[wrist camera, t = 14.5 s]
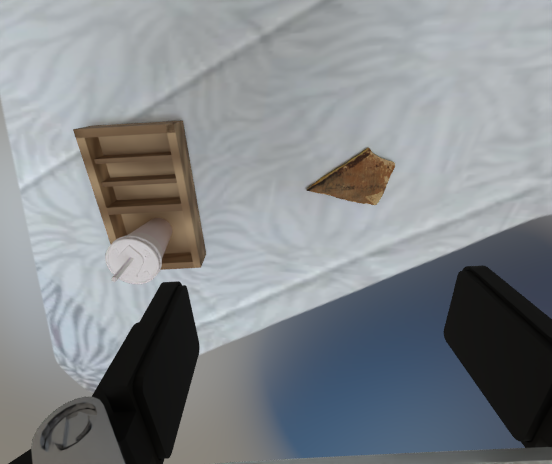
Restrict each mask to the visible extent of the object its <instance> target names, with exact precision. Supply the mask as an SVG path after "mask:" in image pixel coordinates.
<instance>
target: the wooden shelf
mask: <svg viewBox="0 0 552 464" xmlns="http://www.w3.org/2000/svg"><path fill="white" fill-rule="evenodd" d="M73 131H74V134H75V137H76V140H77V143H78V146H79V149H80V152H81V155H82V158H83V161H84V164H85V167H86V170H87V173H88V176H89V179H90V182H91V186H92V189H93V192H94V195H95V198H96V201H97V204H98V207H99V210H100V213H101V216H102V219H103V222H104V225H105V228H106V231H107V234H108V237H109V241H110V244H112V243H113V242H114V241H115V240H116V239H118V238H120V237H123V236H127V235H128V234H130V233H132V232H133V231H135V230H136V229H138V228H139V227H141V226H142V225H144V224H145V223H147V222H148V221H150V220H152V219H154V218H162V219H164V220H166V221H167V222H168V223H169V224H170V225H171V227H172V234H171V237H170V240H169V242H168V245H167V247H166V250H165V252H164V255H163V257H162V266H161V269H160V270H162V269H181V268H200V267H201V266H202V263H203V261H204V258H205V256H206V251H205V245H204V239H203V233H202V228H201V222H200V216H199V211H198V205H197V199H196V193H195V188H194V182H193V176H192V170H191V165H190V159H189V153H188V148H187V142H186V136H185V130H184V125H183V121H170V122H152V123H134V124H116V125H98V126H88V127H83V128H78V129H73Z"/></svg>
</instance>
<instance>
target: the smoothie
mask: <svg viewBox="0 0 552 464" xmlns="http://www.w3.org/2000/svg"><path fill="white" fill-rule="evenodd" d="M171 234H172V227H171V225H170V224H169V223H168V222H167V221H166V220H164V219H162V218H154V219H152V220H150V221H148V222H147V223H145V224H144V225H142V226H141V227H139V228H138V229H136V230H135V231H133V232H132V233H130V234H128V235H127V236H123V237H120V238H118V239H116V240H115V241H114V242H113V243H112V244H111V245H110V246H109V248H108V249H107V251H106V256H105V259H106V264H107V266H108V268H109V270H110V271H111V272H112V273H113V274H114V276H113V277H112V278H111V280H112V281H114V282H116V281H117V280H118V278H119V279H120V280H122V281H124V282H127V283H131V284H144V283H147V282H149V281H151V280H152V279H154V278H155V276H156V275H157V274H158V273H159V271H160V269H161V266H162V257H163V255H164V252H165V250H166V247H167V245H168V242H169V240H170V237H171Z"/></svg>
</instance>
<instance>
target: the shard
mask: <svg viewBox="0 0 552 464" xmlns="http://www.w3.org/2000/svg"><path fill="white" fill-rule="evenodd" d="M394 168H395V163H394V162H392V161H388V160H385V159H382V158H380V157H378V156H376V155H375V154H373V153H372V152H371V150H370V148H367V149H366V150H364V151H363V152H361V153H360V154H359V155H358V156H356V157H354V158H352V159H351V160H350V161H348V162H347V163H346V164H344V165H343V166H341V167H339V168H337V169H335V170H334V171H332V172H331V173H329V174H327V175H326V176H324V177H322V178H321V179H319V180H318V181H317V182H316V183H314V184H313V185H312V186H311V187H309V188H308V189H307V191H311V192H316V193H321V194H326V195H331V196H334V197H336V198H340V199H345V200H348V201H352V202H353V201H354V202H357V203H363V204H365V203H368V204H371V205H377V203H378V202H379V200H380V198H381V197H382V195H383V193H384V190H385V188H386V185H387V183H388V181H389V178H390V175H391V174H392V172H393V170H394Z"/></svg>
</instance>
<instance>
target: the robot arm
mask: <svg viewBox="0 0 552 464" xmlns="http://www.w3.org/2000/svg"><path fill="white" fill-rule="evenodd" d="M444 337H445V340H446V342H447V343H448V345H449V346H450V348H451V349H452V350H453V352H454V353H455V355H456V356H457V358H458V359H459V360H460V362H461V363H462V364H463V366H464V367H465V369H466V370H467V372H468V373H469V374H470V376H471V377H472V379H473V380H474V382H475V383H476V385H477V386H478V387H479V389H480V390H481V392H482V393H483V395H484V396H485V397H486V399H487V400H488V402H489V403H490V405H491V406H492V407H493V409H494V410H495V412H496V413H497V415H498V416H499V417H500V419H501V420H502V422H503V423H504V425H505V426H506V427H507V429H508V430H509V432H510V433H511V434H512V436H513V437H514V438H515V439H516V440H518V441H521V442H522V444H523V445H524V446H525V448H516V449H493V450H470V451H469V450H468V451H446V452H424V453H402V454H383V455H361V456H343V457H342V456H341V457H324V458H323V457H322V458H303V459H284V460H266V461H248V462H231V463H218V464H552V319H551V318H549V317H548V316H547V315H546V314H544V313H543V312H542V311H541V310H539V309H538V308H537V307H536V306H535V305H533V304H532V303H531V302H530V301H528V300H527V299H526V298H525V297H524V296H522V295H521V294H520V293H519V292H517V291H516V290H515V289H514V288H512V287H511V286H510V285H509V284H508V283H506V282H505V281H504V280H503V279H501V278H500V277H499V276H498V275H496V274H495V273H494V272H492V271H491V270H490V269H489V268H488V267H486V266H467V267H465V268H464V269H463V270H462V271H460V272H459V274H458V276H457V280H456V284H455V288H454V292H453V296H452V300H451V304H450V308H449V312H448V316H447V320H446V324H445V328H444ZM198 355H199V340H198V336H197V331H196V326H195V322H194V317H193V313H192V308H191V304H190V299H189V294H188V290H187V287H186V286H185V285H184V286H182V284H181V283H180V282H163V283H162V284H161V285H160V287H159V289H158V290H157V292H156V294H155V296H154V297H153V299H152V301H151V303H150V304H149V306H148V308H147V310H146V311H145V313H144V315H143V317H142V319H141V320H140V322H139V323H136V324H135V325H134V326H133V327H132V329H131V330H130V332H129V334H128V335H127V337H126V339H125V341H124V342H123V344H122V346H121V347H120V349H119V351H118V353H117V354H116V356H115V358H114V359H113V361H112V363H111V364H110V366H109V368H108V370H107V371H106V373H105V375H104V376H103V378H102V380H101V382H100V383H99V385H98V387H97V388H96V390H95V392H94V394H93V395H92V397H82V398H77V399H74V400H72V401H70V402H68V403H65V404H64V405H62V406H61V407H59V408H58V409H56V410H55V411H53V412H52V413H51V414H50V415H49V416H48V417H47V418H46V419H45V420H44V421H43V422H42V424H41V425H40V426H39V428H38V429H37V431H36V433H35V435H34V437H33V439H32V446H31V449H30V450H28V451H27V452H25V453H24V454H22V455H21V456H19V457H18V458H16V459H15V460H13V461H12V462H10V463H9V464H163V462H164V459H165V458H169V457H170V456H171V453H172V450H173V446H174V443H175V439H176V435H177V431H178V428H179V424H180V421H181V417H182V413H183V410H184V406H185V402H186V399H187V395H188V391H189V388H190V384H191V380H192V377H193V373H194V369H195V366H196V362H197V358H198Z"/></svg>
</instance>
